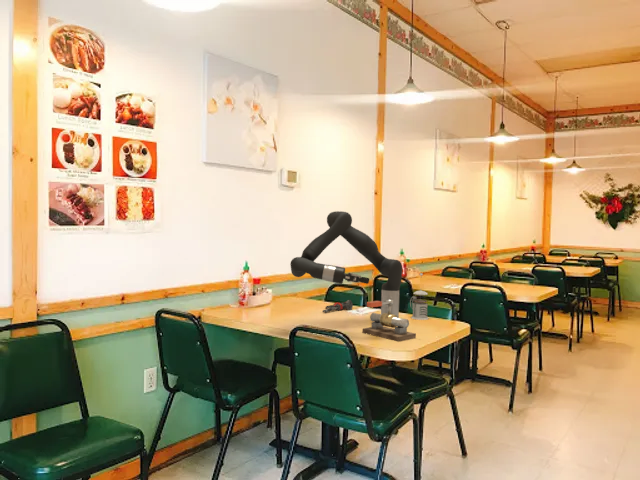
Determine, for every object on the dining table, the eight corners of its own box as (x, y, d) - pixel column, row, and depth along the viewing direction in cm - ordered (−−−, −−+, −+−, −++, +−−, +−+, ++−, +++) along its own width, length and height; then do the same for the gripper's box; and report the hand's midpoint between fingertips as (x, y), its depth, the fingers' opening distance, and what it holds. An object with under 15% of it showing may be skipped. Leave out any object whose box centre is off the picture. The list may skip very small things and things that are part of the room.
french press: (432, 319, 284) (434, 273, 283) (416, 320, 278) (418, 274, 277) (420, 316, 292) (421, 272, 291) (404, 317, 286) (406, 272, 285)
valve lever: (394, 304, 238) (394, 300, 238) (371, 307, 228) (372, 302, 228) (389, 303, 241) (389, 299, 241) (366, 306, 230) (366, 301, 230)
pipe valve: (410, 334, 233) (410, 307, 233) (401, 335, 229) (402, 308, 229) (376, 326, 248) (377, 301, 248) (368, 328, 244) (369, 302, 244)
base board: (415, 337, 235) (415, 333, 235) (399, 341, 227) (399, 336, 227) (379, 329, 251) (379, 325, 251) (362, 332, 243) (362, 328, 243)
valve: (336, 309, 320) (356, 308, 311) (311, 316, 299) (332, 316, 290) (335, 299, 320) (355, 298, 311) (310, 305, 299) (331, 305, 290)
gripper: (333, 266, 226) (370, 273, 225) (336, 265, 241) (370, 272, 239) (330, 282, 226) (367, 290, 224) (333, 281, 240) (367, 288, 239)
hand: (368, 280), depth 232 cm, fingers open, 8 cm apart
